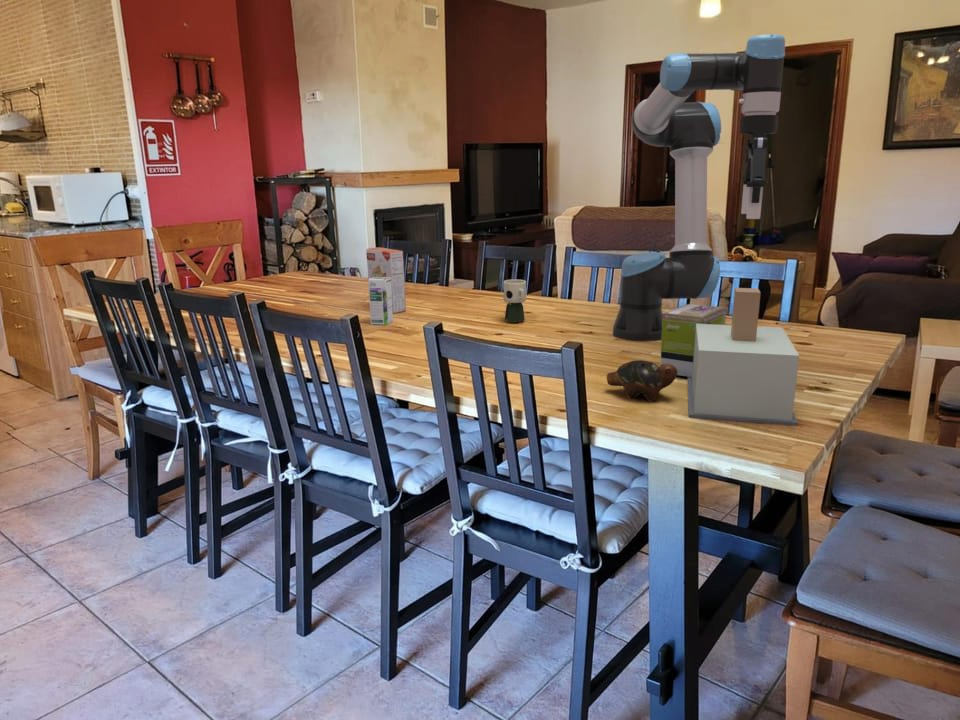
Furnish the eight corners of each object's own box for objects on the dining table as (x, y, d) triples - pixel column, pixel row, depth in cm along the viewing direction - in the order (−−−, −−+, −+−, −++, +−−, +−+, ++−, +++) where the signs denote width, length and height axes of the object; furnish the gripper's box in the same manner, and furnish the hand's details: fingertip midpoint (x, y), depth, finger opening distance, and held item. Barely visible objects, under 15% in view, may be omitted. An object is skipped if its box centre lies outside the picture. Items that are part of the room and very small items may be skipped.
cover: (691, 378, 160) (699, 279, 154) (776, 384, 156) (787, 281, 149) (694, 413, 139) (702, 299, 133) (791, 420, 134) (805, 303, 128)
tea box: (684, 360, 177) (688, 302, 173) (723, 366, 171) (728, 306, 167) (658, 372, 166) (661, 310, 162) (699, 379, 159) (704, 315, 156)
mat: (687, 379, 162) (687, 377, 161) (780, 385, 156) (780, 383, 156) (688, 417, 139) (689, 414, 138) (797, 425, 133) (798, 422, 133)
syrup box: (370, 324, 220) (367, 279, 216) (377, 320, 226) (374, 276, 222) (387, 325, 219) (384, 279, 215) (393, 321, 224) (391, 276, 220)
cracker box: (368, 308, 244) (365, 248, 239) (383, 305, 248) (379, 246, 242) (392, 314, 234) (388, 251, 229) (406, 311, 238) (403, 250, 232)
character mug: (496, 319, 224) (496, 279, 220) (516, 317, 227) (516, 277, 223) (513, 326, 215) (513, 284, 211) (533, 324, 218) (533, 282, 214)
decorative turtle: (675, 406, 145) (674, 369, 142) (602, 402, 150) (601, 367, 148) (680, 389, 153) (680, 355, 151) (611, 387, 159) (610, 353, 157)
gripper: (736, 118, 161) (728, 211, 167) (745, 111, 138) (736, 221, 144) (771, 117, 159) (762, 211, 165) (786, 110, 136) (775, 221, 142)
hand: (750, 216), depth 155 cm, fingers open, 13 cm apart
